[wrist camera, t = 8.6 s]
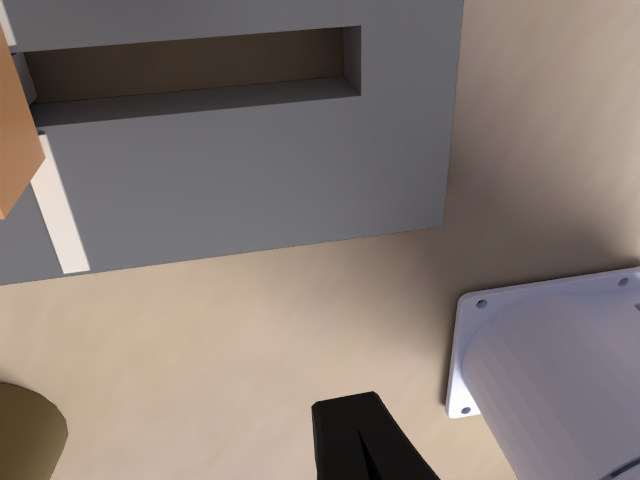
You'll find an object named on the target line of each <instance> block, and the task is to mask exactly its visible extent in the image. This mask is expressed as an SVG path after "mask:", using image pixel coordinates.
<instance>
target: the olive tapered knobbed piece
mask: <svg viewBox="0 0 640 480" xmlns="http://www.w3.org/2000/svg"><path fill="white" fill-rule="evenodd" d="M67 437H68V430H67V424H66V420H65V418H64V417H63V415H62V414H61V413H60V411H59V410H58V408H57V407H56V406H55V405H54V404H52V403H51V402H50V401H48V400H47V399H45V398H44V397H43V396H41V395H40V394H37V393H35V392H32V391H30V390H27V389H25V388H22V387H20V386H16V385H10V384H3V383H0V480H50V478H51V476H52V473H53V471H54V469H55V467H56V464H57V462H58V460H59V458H60V455H61V453H62V451H63V449H64V446H65V443H66V440H67Z"/></svg>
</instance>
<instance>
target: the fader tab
mask: <svg viewBox="0 0 640 480" xmlns="http://www.w3.org/2000/svg"><path fill="white" fill-rule="evenodd" d="M36 98H37V94H36V91H35V88H34V84H33V81H32V78H31V75H30V72H29V69H28V66H27V63H26V60H25V57H24V54H23V52H17V53H10V50H9V47H8V44H7V41H6V38H5V35H4V32H3V29H2V26H1V23H0V219H5V218H6V217H7V215H8V214H9V212H10V211H11V209H12V208H13V206H14V205H15V203H16V202H17V200H18V199H19V197H20V196H21V194H22V193H23V191H24V190H25V188H26V187H27V185H28V184H29V182H30V181H31V179H32V178H33V176H34V175H35V173H36V172H37V170H38V169H39V167H40V166H41V164H42V163H43V162H44V160H45V159H46V157H45V154H44V151H43V148H42V145H41V142H40V139H39V136H38V133H37V130H36V127H35V124H34V121H33V118H32V115H31V112H30V109H29V105H30V104H31V103H32V102H33V101H34V100H35V99H36Z"/></svg>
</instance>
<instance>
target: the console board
mask: <svg viewBox="0 0 640 480" xmlns="http://www.w3.org/2000/svg"><path fill="white" fill-rule="evenodd" d="M463 5H464V0H0V23H1V26H2V29H3V32H4V35H5V38H6V41H7V44H8V47H9V50H10V53H17V52H29V51H42V50H55V49H67V48H80V47H92V46H105V45H118V44H130V43H143V42H156V41H168V40H181V39H194V38H206V37H219V36H232V35H244V34H257V33H270V32H282V31H295V30H308V29H320V28H333V27H343V46H344V76H339V77H328V78H317V79H306V80H295V81H284V82H273V83H262V84H251V85H240V86H229V87H218V88H207V89H197V90H186V91H175V92H164V93H153V94H142V95H131V96H120V97H109V98H98V99H87V100H76V101H66V102H55V103H44V104H33V105H29V109H30V112H31V115H32V118H33V121H34V124H35V127H36V130H37V133H38V136H39V139H40V142H41V145H42V148H43V151H44V154H45V157H46V159H45V160H44V162H43V163H42V164H41V166H40V167H39V169H38V170H37V172H36V173H35V175H34V176H33V178H32V179H31V181H30V182H29V184H28V185H27V187H26V188H25V190H24V191H23V193H22V194H21V196H20V197H19V199H18V200H17V202H16V203H15V205H14V206H13V208H12V209H11V211H10V212H9V214H8V215H7V217H6V218H5V219H0V286H1V285H8V284H16V283H23V282H31V281H38V280H46V279H53V278H61V277H68V276H76V275H83V274H91V273H98V272H106V271H113V270H121V269H128V268H136V267H143V266H151V265H158V264H166V263H173V262H181V261H188V260H196V259H203V258H211V257H218V256H226V255H233V254H241V253H248V252H256V251H263V250H271V249H278V248H286V247H294V246H301V245H309V244H316V243H324V242H331V241H339V240H346V239H354V238H361V237H369V236H376V235H384V234H391V233H399V232H406V231H414V230H421V229H429V228H436V227H443V222H444V211H445V200H446V189H447V179H448V168H449V157H450V146H451V135H452V124H453V113H454V103H455V92H456V81H457V70H458V59H459V48H460V37H461V26H462V16H463Z"/></svg>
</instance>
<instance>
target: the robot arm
mask: <svg viewBox="0 0 640 480" xmlns="http://www.w3.org/2000/svg"><path fill="white" fill-rule="evenodd" d="M480 300H483V301H481V302H480V303H478V302H479V301H480ZM477 303H478V304H477ZM311 408H312V422H313V436H314V450H315V462H316V468H317V480H440V478H439V477H438V476H437V475H436V474H435V472H434V471H433V470H432V469H431V467H430V466H429V465H428V464H427V463H426V461H425V460H424V459H423V458H422V456H421V455H420V454H419V452H418V451H417V450H416V449H415V447H414V446H413V445H412V443H411V442H410V441H409V439H408V438H407V437H406V435H405V434H404V433H403V431H402V430H401V428H400V427H399V426H398V424H397V423H396V421H395V420H394V419H393V417H392V416H391V414H390V413H389V411H388V410H387V408H386V407H385V405H384V404H383V402H382V400H381V399H380V397H379V395H378V394H377V393H375V392H373V391H371V392H366V393H360V394H355V395H350V396H344V397H339V398H334V399H328V400H323V401H318V402H316V403H315V404H314V405H312V406H311ZM445 411H446V413H447V415H448V416H449V417H450V418H460V417H465V416H471V415H476V414H482V416H483V417H484V419H485V421H486V423H487V425H488V426H489V428H490V430H491V432H492V434H493V435H494V437H495V439H496V441H497V443H498V444H499V446H500V448H501V450H502V452H503V453H504V455H505V457H506V459H507V461H508V462H509V464H510V466H511V468H512V470H513V471H514V473H515V475H516V477H517V479H518V480H640V267H634V268H627V269H621V270H614V271H607V272H601V273H594V274H588V275H581V276H574V277H568V278H561V279H555V280H548V281H541V282H535V283H528V284H522V285H515V286H508V287H502V288H495V289H489V290H482V291H475V292H469V293H466V294H464V295H462V296H461V297H460V299H459V300H458V304H457V313H456V321H455V329H454V338H453V346H452V355H451V363H450V371H449V380H448V388H447V397H446V405H445Z"/></svg>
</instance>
